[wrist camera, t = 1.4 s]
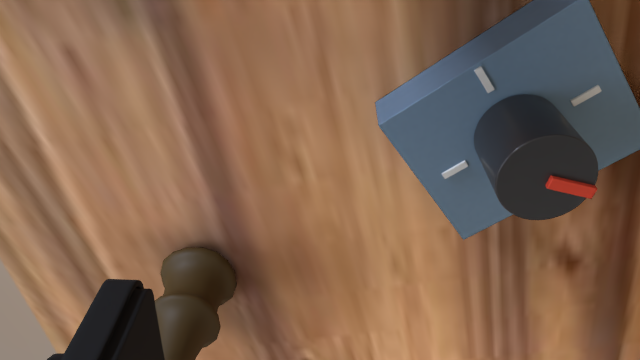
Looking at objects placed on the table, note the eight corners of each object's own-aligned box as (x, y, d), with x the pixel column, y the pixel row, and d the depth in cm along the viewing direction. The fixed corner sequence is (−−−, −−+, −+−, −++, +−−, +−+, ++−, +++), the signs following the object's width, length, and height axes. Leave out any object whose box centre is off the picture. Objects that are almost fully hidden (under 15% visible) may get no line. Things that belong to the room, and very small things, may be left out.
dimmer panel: (562, -20, 26) (588, -5, 24) (628, 117, 30) (657, 143, 27) (374, 102, 30) (378, 127, 27) (453, 210, 34) (464, 241, 31)
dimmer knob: (460, 161, 28) (481, 213, 24) (494, 84, 26) (523, 127, 22) (538, 179, 29) (571, 233, 25) (577, 105, 26) (622, 151, 22)
